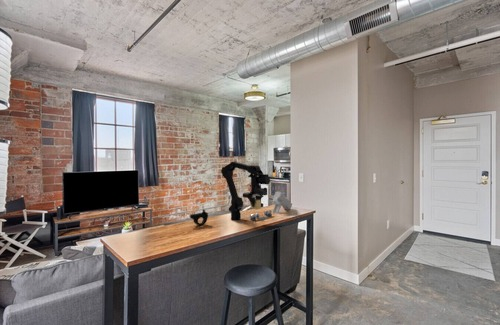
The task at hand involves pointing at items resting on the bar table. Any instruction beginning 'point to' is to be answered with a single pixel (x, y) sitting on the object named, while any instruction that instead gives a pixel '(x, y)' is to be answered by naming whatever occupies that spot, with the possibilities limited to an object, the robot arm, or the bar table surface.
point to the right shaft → (268, 213)
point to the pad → (263, 218)
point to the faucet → (281, 202)
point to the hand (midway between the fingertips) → (255, 206)
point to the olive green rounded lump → (256, 204)
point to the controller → (199, 215)
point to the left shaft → (254, 216)
